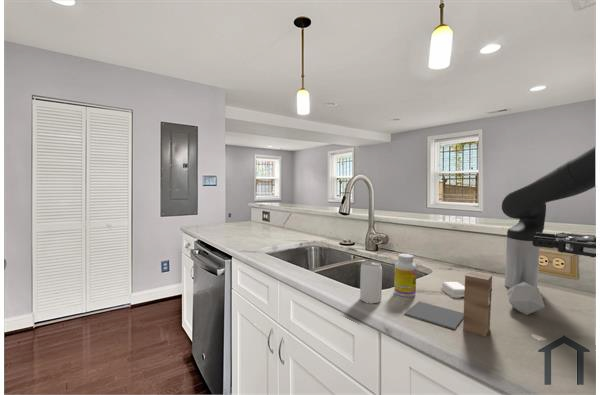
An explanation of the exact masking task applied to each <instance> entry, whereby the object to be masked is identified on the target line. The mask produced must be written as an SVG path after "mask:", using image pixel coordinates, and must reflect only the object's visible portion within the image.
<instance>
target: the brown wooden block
mask: <svg viewBox="0 0 600 395" xmlns="http://www.w3.org/2000/svg"><path fill="white" fill-rule="evenodd" d="M464 286H465V292H464V297H463V298H464V299H463V313H464V317H463V320H462V321H463V322H462V325H463V326H462V331H466V332H469V333H471V334H475V335H479V336H483V337H487V335H488V333H489V332H490V329H491V311H492V292H493V274H490V273H484V272H479V271H473V270H469V271H468V272H467V273H466V274H465V275H464Z"/></svg>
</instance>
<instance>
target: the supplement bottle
mask: <svg viewBox="0 0 600 395" xmlns="http://www.w3.org/2000/svg"><path fill="white" fill-rule="evenodd" d="M397 258H398V261H397V262H395V264H394V286H393V287H394V289H393V290H394V293H395V294H396V295H397V296H400V297H405V298H411V297H412V298H413V297H414V296H415V295H416V290H417V265H416V264H415V263H414V255H412V254H411V253H398V257H397Z"/></svg>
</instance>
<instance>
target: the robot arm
mask: <svg viewBox="0 0 600 395" xmlns="http://www.w3.org/2000/svg"><path fill="white" fill-rule="evenodd" d="M594 188H596V187H595V145H593V146H591V147H590V148H588V149H587V150H585V151H584V152H582V153H580V154H578V155H576V156H574V157H572V158H571V159H569V160H567V161H566V162H564V163H563V164H561V165H560V166H558V167H556V168H555V169H553V170H552V171H549V172H548V173H547V174H544V175H543V176H541V177H539V178H538V179H536V180H535V181H533V182H531V183H529V184H527V185H525V186H522V187H520V188H518V189H516V190H514V191H512V192H509V193H508V194H507V195H506V196H505V197H504V198H503V200H502V203H501V210H502V212H503V214H504V215H505V216H507V217H508V218H511V219H517V220H518V222H517V223H516V224H515V225H513V226H512V227H509V228H508V229H507V232H506V233H507V234H506V248H505V249H506V253H505V254H506V255H505V270H504V286H506V288H508V289H509V288H511V287H513V286H515V285H518V284H520V283H522V282H525V283H528V284H530V285H532V286H534V287H537V288H538V284H539V283H538V282H539V268H540V267H539V266H540V265H539V264H540V252H541V250H540V248H545V249H546V248H547V249H553V250H556V251H557V252H559V253H562V254H563V253H565V254H571V255H578V256H584V257H590V258H597V257H596V238H597V236H596V235H595V234H588V233H587V234H585V233H584V234H581V233H574V232H572V233H568V232H567V233H566V232H558V233H547V232H544V230H545V229H544V228H545V221H546V214H547V203H550V202H554V201H559V200H562V199H567V198H570V197H575V196H578V195H579V194H583V193H584V192H587V191H590V190H591V189H594Z"/></svg>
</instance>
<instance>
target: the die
mask: <svg viewBox="0 0 600 395" xmlns="http://www.w3.org/2000/svg"><path fill="white" fill-rule="evenodd" d="M506 292H507V298H508V302H509V304H510V306H512V308H513V309H515V310H516V311H518V312H520V313H522V314H524V315H525V316H527V315H530V314H532V313H535V312H537V311H538V310H541V309H544V308H545V307H546V306H545V303H544V300H543V299H544V298H543V296H542V294H541V292H540V289H539V287H538V286H537V287H534V286H532V285H530V284H528V283H525V282H522V283H520V284H518V285H515V286H513V287H511V288H509V287H508V288H507V289H506Z"/></svg>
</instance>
